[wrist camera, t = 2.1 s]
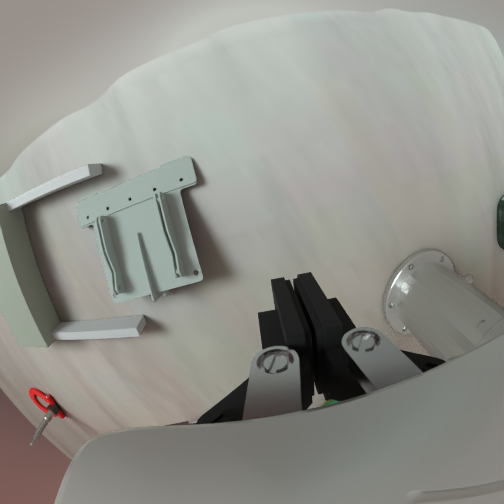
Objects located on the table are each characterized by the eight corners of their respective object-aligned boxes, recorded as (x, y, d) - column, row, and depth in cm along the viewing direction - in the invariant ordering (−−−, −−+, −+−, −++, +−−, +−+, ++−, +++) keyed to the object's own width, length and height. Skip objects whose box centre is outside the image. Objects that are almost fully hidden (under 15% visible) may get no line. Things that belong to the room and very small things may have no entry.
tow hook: (43, 409, 40) (68, 417, 40) (21, 445, 28) (46, 457, 27) (25, 384, 38) (49, 390, 37) (-2, 419, 25) (21, 432, 25)
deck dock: (101, 163, 25) (77, 165, 21) (146, 322, 32) (134, 346, 27) (-7, 213, 26) (-29, 221, 21) (34, 329, 32) (18, 346, 27)
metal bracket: (222, 286, 24) (95, 318, 25) (230, 277, 30) (119, 306, 31) (183, 140, 24) (66, 193, 25) (197, 157, 30) (93, 199, 31)
